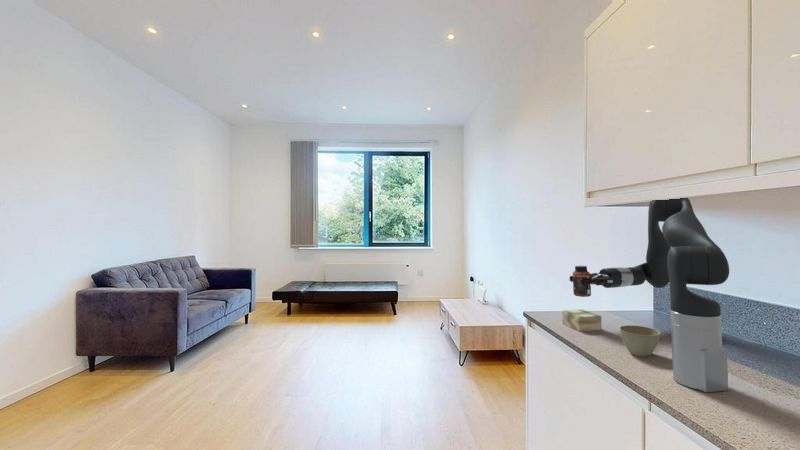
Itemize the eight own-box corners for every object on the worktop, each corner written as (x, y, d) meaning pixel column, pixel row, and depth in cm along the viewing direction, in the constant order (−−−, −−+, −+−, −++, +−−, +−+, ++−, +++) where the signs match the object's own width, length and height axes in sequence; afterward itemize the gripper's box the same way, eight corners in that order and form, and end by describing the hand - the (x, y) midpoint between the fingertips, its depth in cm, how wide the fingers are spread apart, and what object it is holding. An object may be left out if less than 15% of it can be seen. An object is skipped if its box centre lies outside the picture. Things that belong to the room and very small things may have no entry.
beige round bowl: (612, 349, 105) (611, 326, 105) (638, 346, 107) (638, 323, 107) (641, 362, 95) (640, 336, 95) (669, 358, 97) (669, 333, 97)
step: (601, 329, 125) (601, 315, 125) (579, 331, 123) (578, 317, 124) (583, 322, 135) (583, 309, 135) (562, 323, 133) (562, 310, 134)
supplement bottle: (594, 296, 126) (593, 266, 126) (578, 297, 126) (576, 267, 126) (586, 293, 132) (584, 264, 132) (570, 294, 132) (569, 265, 132)
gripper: (602, 265, 138) (563, 268, 136) (630, 270, 123) (587, 272, 121) (602, 284, 138) (564, 286, 136) (631, 290, 123) (588, 293, 121)
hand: (575, 280), depth 129 cm, fingers closed on supplement bottle, 6 cm apart
